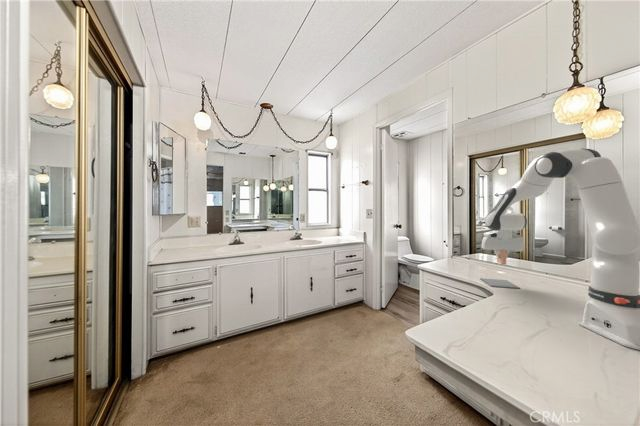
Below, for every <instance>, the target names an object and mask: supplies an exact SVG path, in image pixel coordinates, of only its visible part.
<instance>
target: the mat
mask: <svg viewBox="0 0 640 426" xmlns="http://www.w3.org/2000/svg"><path fill="white" fill-rule="evenodd" d="M479 280H481V281H482V282H483V283H485V284H487V285H488V286H490V287H491V288H504V289H518V290H520V289H521V287H519V285H517V284H514V283H512V282H511V281H509V280H507V279H499V278H498V279H497V278H482V277H480V279H479Z"/></svg>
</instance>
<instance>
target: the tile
mask: <svg viewBox="0 0 640 426" xmlns="http://www.w3.org/2000/svg"><path fill="white" fill-rule="evenodd" d="M498 254H499V255H501V256H500V258H496V262H497V263H499V264H501V265H504V266H505V265H507V258H506V255H507V251H506V250H499V252H498Z"/></svg>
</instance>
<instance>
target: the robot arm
mask: <svg viewBox="0 0 640 426" xmlns="http://www.w3.org/2000/svg"><path fill="white" fill-rule="evenodd" d="M565 177H566V178H568V177H570V178H571V179H573V180H574V182H575V184H576V187H577V191H578V194H579V198H580V201H581V205H582V208H583V211H584V216H585V218H586V219H585V220H586V222H587V226H588V230H589V234H590V236H591V237H590V238H591V240H592V250H591V264H590V265H591V267H590V269H591V271H590V286H588V289H587V291H588V292H587V294H588V295H587V296H589V297H588V300H587V302H586V303H585V305H584V310H583V315H582V320H581V321H579V323H578V324H579V326H581V327H583V328H585V329H587V330H589V331H592V332H594V333H595V334H598V335H600V336H602V337H604V338H606V339H609V340H611V341H613V342H615V343H617V344H620V345H622V346H624V347H627V348H630V349H634V350H638V351H640V294H639V289H640V287H639V286H640V227H639V225H638V222H637V218H636V216H635V214H634V211H633V208H632V206H631V203H630V201H629V197H628V194H627V191H626V188H625V185H624V183H623V179H622V177H621V174H620V173H619V171H618V169H617V167H616V166H615V165H614V163H613V162H612V160H611V159H609V158H608V157H602V155H601V154H600V152H598V151H597V150H595V149H591V148H579V149H575V148H574V149H563V150H562V149H561V150H557V151H550V152H547V153H544V154H542V155H541V156H538V157H536V158H535V159H533V160H532V161H531V162H530V163H529V165H528V166H527V167H526V168H525V170H524V172H523V174H522V176H521V177H520V179H519V180H518V181H517V182H516V183H515V184H514V185H513V186H512V187H509V188H508V189H507V190H506V191H505V192H504V193H503V194H502V195H501V197H500V199H499V200H498V202H497V203H496V204H495V205H494V207H493V209H492V210H491V211H490V212H489V213H488V214H487V215H486V216H485V218H484V224H485V226H486V227H487V228H488V229H489V230H490V231H486V232H483V238H481V239H482V241H481V249H483V250H486V251H487V250H489V251H493V252H494V254H495V256H496V259H497V258H500V256H501V255H499V254H498V252H499V250H506V251H507V255H506V259H508V256H509V255H510V253H511V252H524V250H525V249H524V245H525V244H524V237H523V236H522V235H520V234H513V231H522V230H524V229H525V228H526V227H527V224H528V220H527V217H526V216H525V214H523V213H521V212H518V211H516V210H514V209H513V207H512V206H513V205H514V204H515V203H518V202H521V201H525V200H528V199H534V198H535V199H536V198H538V197H540V196H542V195H543V194H544V193H546V191H547V190H548V189H549V187H550V186H551V184H552V182H553V180H554V179H557V178H558V179H559V178H562V179H563V178H565Z"/></svg>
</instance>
